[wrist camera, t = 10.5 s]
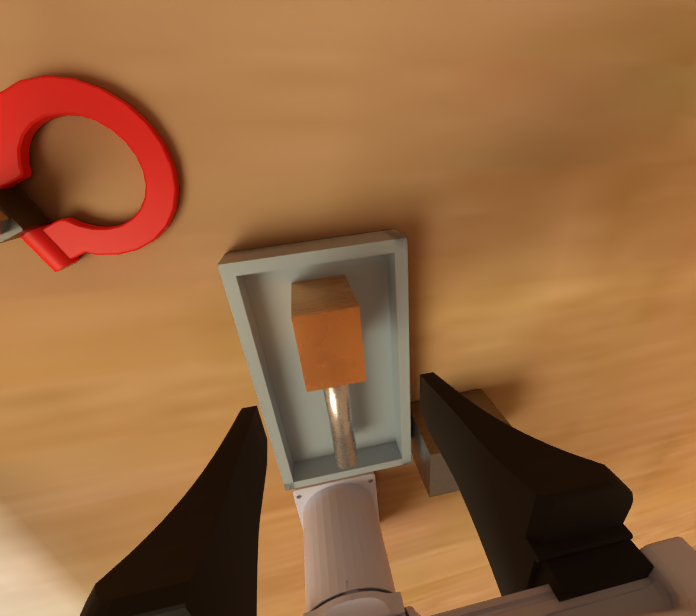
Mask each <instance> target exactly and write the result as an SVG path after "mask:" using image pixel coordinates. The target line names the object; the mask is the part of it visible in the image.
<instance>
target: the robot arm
mask: <svg viewBox="0 0 696 616" xmlns="http://www.w3.org/2000/svg"><path fill="white" fill-rule="evenodd" d="M420 411H421V413H422V416H423V419H424V421H425V424H426V426H427V429H428V431H429V433H430V435H431V436H432V438H433V440H434V442H435V444H436V446H437V448H438V449H439V451H440V453H441V455H442V457H443V459H444V460H445V462H446V464H447V466H448V468H449V470H450V471H451V473H452V475H453V477H454V479H455V481H456V483H457V485H458V487H459V490H460V492H461V494H462V496H463V499H464V501H465V503H466V506H467V508H468V510H469V513H470V515H471V518H472V520H473V523H474V525H475V528H476V530H477V532H478V535H479V537H480V540H481V543H482V545H483V548H484V550H485V553H486V555H487V558H488V561H489V563H490V566H491V568H492V571H493V574H494V577H495V579H496V582H497V585H498V588H499V590H500V593H501V596H502V597H498V598H494V599H491V600H487V601H483V602H479V603H476V604H472V605H468V606H465V607H461V608H457V609H453V610H450V611H446V612H442V613H439V614H435V615H431V616H696V551H695V550H694V549H693V548H692V547H691V546H690V545H689V544H688V543H687V542H686V541H685V540H684V539H683V538H682V537H674V538H670V539H666V540H662V541H658V542H655V543H651V544H648V545H646V546H644V547H643V548H641V549H640V550H639V549H638V548H637V547H636V546H635V544H634V543H633V542H632V541H631V540H630V539H632V538H633V535H632V533H631V532H630V531H629V530H628V529H627V528H626V526H625V525H624V524H623V522H624V520H625V518H626V516H627V514H628V512H629V510H630V508H631V506H632V502H633V494H632V492H631V490H630V489H629V488H628V487H627V486H626V485H625V484H624V483H623V482H622V481H621V480H620V479H619V478H618V477H617V476H616V475H615V474H614V473H613V472H612V471H611V470H610V469H608V468H607V467H606V466H605V465H603V464H600V463H597V462H595V461H592V460H589V459H586V458H583V457H580V456H577V455H574V454H571V453H569V452H566V451H563V450H561V449H558V448H556V447H553V446H551V445H549V444H546V443H544V442H542V441H540V440H537V439H535V438H533V437H531V436H529V435H527V434H525V433H523V432H521V431H519V430H517V429H515V428H513V427H511V426H509V425H508V424H506V423H504V422H502V421H501V420H499V419H497V418H495V417H494V416H492V415H491V414H489V413H487V412H486V411H484V410H483V409H481V408H480V407H478V406H477V405H475V404H474V403H473V402H471V401H470V400H468V399H467V398H466V397H464V396H463V395H462V394H460V393H459V392H458V391H456V390H455V389H454V388H452V387H451V386H450V385H449V384H447V383H446V382H445V381H444V380H442V379H441V378H440V377H438V376H437V375H436V374H435V373H433V372H432V373H427V374H421V375H420ZM266 468H267V437H266V434H265V431H264V428H263V424H262V421H261V418H260V415H259V411H258V408H257V406H252V407H247V408H242V409H241V411H240V412H239V414H238V416H237V418H236V419H235V421H234V423H233V425H232V427H231V428H230V430H229V432H228V434H227V435H226V437H225V439H224V440H223V442H222V443H221V445H220V447H219V448H218V450H217V451H216V453H215V455H214V456H213V458H212V459H211V460H210V462H209V463H208V465H207V466H206V468H205V469H204V471H203V472H202V473H201V475H200V476H199V478H198V479H197V480H196V482H195V483H194V484H193V486H192V487H191V488H190V489H189V491H188V492H187V493H186V494H185V496H184V497H183V498H182V499H181V500H180V502H179V503H178V504H177V505H176V506H175V507H174V509H173V510H172V511H171V512H170V513H169V514H168V515H167V516H166V517H165V519H164V520H163V521H162V522H161V523H160V524H159V525H158V526H157V527H156V528H155V529H154V530H153V531H152V532H151V533H150V534H149V535H148V536H147V537H146V538H145V539H144V540H143V541H142V542H141V543H140V544H139V545H138V546H137V547H136V548H135V549H134V550H133V551H132V552H131V553H130V554H129V555H128V556H126V557H125V558H124V559H123V560H122V561H121V562H120V563H119V564H118V565H116V566H115V567H114V568H113V569H112V570H111V571H110V572H109V573H107V574H106V575H105V576H104V577H103V578H102V579H101V580H99V581H98V582H97V583H96V584H95V586H94V588H93V590H92V592H91V593H90V595H89V597H88V599H87V601H86V603H85V605H84V607H83V610H82V612H81V614H80V616H257V563H258V536H259V523H260V514H261V507H262V499H263V491H264V484H265V476H266ZM293 496H294V499H295V503H296V506H297V510H298V513H299V517H300V520H301V524H302V527H303V531H304V563H305V595H306V613H304V614H303V616H420V615H419V614H418V613H417V612H416V611H415V609H414V608H413V607H412V606H408V607H405V608H404V605H403V601H402V597H401V593H400V592H396V591H395V587H394V583H393V579H392V574H391V570H390V566H389V562H388V558H387V554H386V549H385V545H384V541H383V537H382V533H381V528H380V521H379V511H378V500H377V490H376V480H375V474H374V472H368V473H363V474H359V475H354V476H350V477H345V478H340V479H336V480H331V481H327V482H322V483H317V484H313V485H308V486H304V487H299V488H295V489H293Z"/></svg>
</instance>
